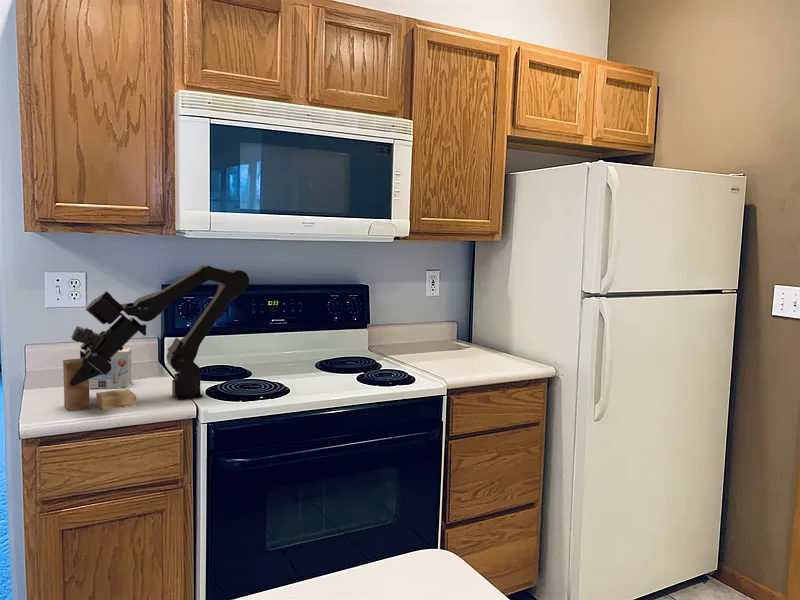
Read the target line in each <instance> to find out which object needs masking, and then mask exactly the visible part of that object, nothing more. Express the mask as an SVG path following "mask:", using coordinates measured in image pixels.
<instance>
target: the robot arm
mask: <svg viewBox="0 0 800 600" xmlns="http://www.w3.org/2000/svg"><path fill="white" fill-rule="evenodd" d="M208 281H211V282H215V283H219V284H218V288H217V290H216V293H215V294H214V296H213V298H212V299H211V301H210V302H209V304H208V305H207V306H206V307H205V309H204V310H203V312H202V313H201V314H200V315H199V317H198V319H197V320H196V321H195V323H194V324H193V325H192V327H191V328H190V330H189V331H188V333H187V334H186V335H185V336H184V337H182V338H181V339H179V338H178V337H175V338H174V340H173V342H172V343H171V345H170V346H169V347H168V348H167V349H166V350H167V351H168V352H167V353H166V360H167V363H168V364H169V366H170V367H171V368H172V369H174V371H175V372H176V373H174V374H173V379H172V381H171V382H172V385H171V386H172V387H171V390H172V393H171V394H172V396H174V398H176V399H178V400H179V401H180V400H188V399H196V398H197V399H198V398H203V394H202V392H201V372H202V368H201V367H200V366H199V365H198V364H196V363H195V362H194V361H195V360H196V357H197V355H198V352H199V348H200V345H201V344H202V342H203V340H204V339H205V338H206V337H207V335H208V334H209V332H210V330H212V328H213V327H214V325H215V324H216V322H217V321H218V319H219V318H220V317H221V316H222V315H223V313H224V311H225V309H226V308H227V307H228V305H229V304H230V303H231V302H232V301H233V300H234V299H236V298H237V297H239V296H240V295H241V294H242V293H243V292H244V291H245V290H246V289H247V288H248V286H249V284H250V278H249V275H248V273H247V272H246V271H243V270H240V269H237V268H231V269H227V270H225V269H221V268H217V267H213V266H211V265H207V264H203V265H200V266H199V267H198V268H196V269H195V270H193V271H192V272H190V273H188V274H187V275H185V276H184V277H181V278H180V279H178V280H177V281H175V282H172V283H171V284H170V285H168V286H167V287H164V288H163V289H161V290H158V291H156V292H155V291H154V292H152V293H149V294H146V295H144V296H141V297H139V298H137V299H136V300H134V301H133V302H128V303H122V304H121V303H119V302H118V301H117V300H116V299H115V298H114V297H113V296H112V294H111V293H109V291H107V290H106V291H104V292H103V293H102V294H101V295H99V296H98V297H96V298H94V299H93V300H92V301H91V302H90V303H89V304H88V306H86V308H85V311H87V313H89V314H90V315H91V316H92V317H93V318H94V319H95V320H97V321H98V322H100V323H101V325H106V324H108V325H111V326H109V327H108V329H106V331H105V330H103V331H100V333H97V332H94V330H92V329H89V328H88V327H85V328H84V327H82V326H78V325H77V326H76V327H75V329H74V331H73V333H72V335H71V337H70V338H71V341H74V342H77V343H82V344H81V345H80V346H79V347H80V349H79V359H80V358H82V362H83V364H82V366H81V368H80V369H79V370H78V372H77V373H76V374H75V376H74V377H73V378H72V380H71V381H70V385H72V386H74V385H76V384H79V383H81V382H83V381H86V380H88V379H91V378H93V377H96V376H98V375H102V374H105V375H106V374H107V373H108V372H109V371H110V370H111V363H110V361H111V358H112V357H113V356H114V355H115V354H116V353H117V352H118V351H119V350H120V351H121V350H122V349H123V347H125V345H126V344H127V343H128V342H129V341H131V339H132V338H133V337H134V336H135V335H136V334H138V332H139V333H140V334H142V335H143V336H147V324H146V323H143V324H142V323H140V322H139V321H141V322H152V321H153V320H154V319H156V318H157V317H158V316H159V315H160V314H161V313H162V312H164V311H165V310H166V308H167V307H168V306H169V305H170V304H172V303H173V302H175V301H177V300H178V299H179V298H181V297H183V296H185V295H186V294H188V293H190V292H191V291H193V290H194V289H196V288H198V287H199V286H201V285H203V284H204V283H206V282H208ZM122 312H124V313H125V314H126V315H127V316H131V317H130V318H128V317H126V315H125V314H123V313H122ZM135 317H136V318H137V319H138V320H139V321H138V320H137V319H135ZM82 350H83V351H82Z"/></svg>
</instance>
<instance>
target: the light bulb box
mask: <svg viewBox="0 0 800 600" xmlns="http://www.w3.org/2000/svg"><path fill="white" fill-rule="evenodd" d="M110 363H111V370H110V371H109V372H108V373H107V374H106V375H105V374H102V375H98V376H96V377H93V378H91V379H89V390H93V388H94V390H95V388H99V389H116V388H115V387H128V388H129V387H130V386H131V384H132V383H131V382H133V381H132V377H133V376H132V373H133V372H132V346H123V349H122V350H121V351H120V350H119V351H118V352H117V353H116V354H115V355H114V356H113V357H112V358H111V361H110ZM129 385H130V386H129ZM91 388H92V389H91Z"/></svg>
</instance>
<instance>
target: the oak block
mask: <svg viewBox="0 0 800 600" xmlns="http://www.w3.org/2000/svg"><path fill="white" fill-rule="evenodd" d="M95 394H96V396H95V398H96V403H98V404H99V405H98V404H97V405H98V406H99V407H100V408H101V410H102V411H104V410H111V409H112V408H114V409H119V408H118V407H121V408H126V407H125V406H129V407H134V406H133V405H136V406H137V395H136V394H135V393H134V392H133V391H132V390H130V389H129V388H123V389H117V390H108V391H107V390H106V391H99V392H98V391H97V392H96V393H95Z"/></svg>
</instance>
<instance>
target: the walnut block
mask: <svg viewBox="0 0 800 600" xmlns="http://www.w3.org/2000/svg"><path fill="white" fill-rule="evenodd" d="M62 362H63V363H62V364H63V365H62V367H63V368H62V369H63V371H62V372H63V400H64V402H63V403H64V407H65V409H66V411H67V412H70V411H78V410H87V409H91V407H90V404H91V403H90V402H91V401H90V389H89V379H88V380H86V381H83V382H81V383H79V384H76V385H74V386H72V385H70V381H71V380H72V378H73V377H74V376H75V374H76V373H77V372H78V370H79V369H80V368H81V366H82V364H83V362H82V358H80V357H79V358H70V359H69V358H68V359H63V360H62Z"/></svg>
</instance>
